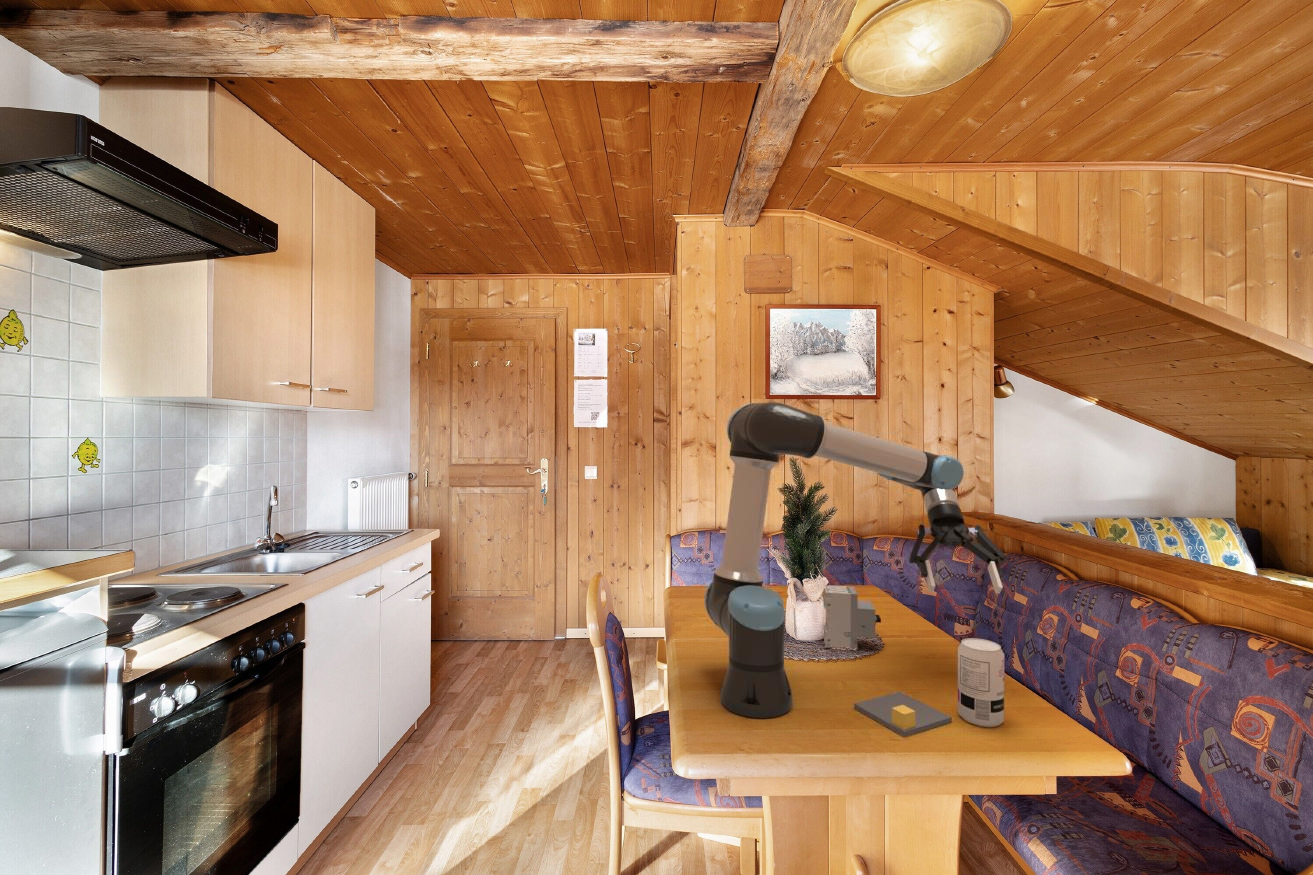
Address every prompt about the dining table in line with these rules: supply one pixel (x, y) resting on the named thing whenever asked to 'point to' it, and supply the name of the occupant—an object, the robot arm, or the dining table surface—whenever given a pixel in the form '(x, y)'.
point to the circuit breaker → (847, 617)
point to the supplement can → (981, 682)
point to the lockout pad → (902, 699)
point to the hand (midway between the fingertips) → (965, 590)
